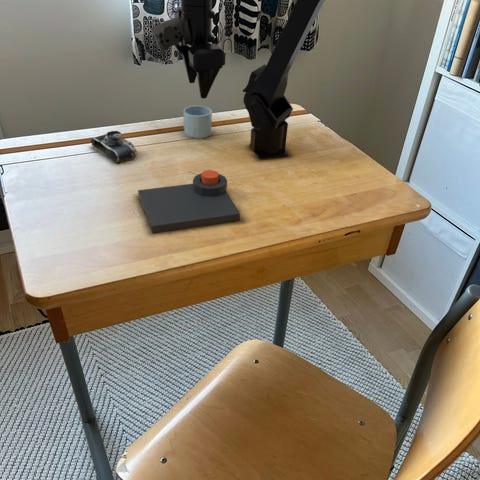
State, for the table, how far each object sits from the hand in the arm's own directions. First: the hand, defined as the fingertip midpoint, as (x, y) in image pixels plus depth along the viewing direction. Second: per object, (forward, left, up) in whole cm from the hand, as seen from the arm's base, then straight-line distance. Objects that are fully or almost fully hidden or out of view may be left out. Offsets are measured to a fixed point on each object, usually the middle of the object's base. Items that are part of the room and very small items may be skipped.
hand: (197, 90), depth 106 cm
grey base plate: (+10, +30, -9) cm, 33 cm away
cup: (0, 0, -9) cm, 9 cm away
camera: (+19, +5, -9) cm, 22 cm away
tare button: (+5, +26, -7) cm, 28 cm away
